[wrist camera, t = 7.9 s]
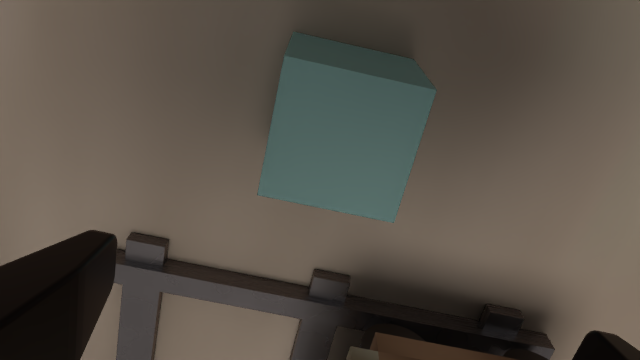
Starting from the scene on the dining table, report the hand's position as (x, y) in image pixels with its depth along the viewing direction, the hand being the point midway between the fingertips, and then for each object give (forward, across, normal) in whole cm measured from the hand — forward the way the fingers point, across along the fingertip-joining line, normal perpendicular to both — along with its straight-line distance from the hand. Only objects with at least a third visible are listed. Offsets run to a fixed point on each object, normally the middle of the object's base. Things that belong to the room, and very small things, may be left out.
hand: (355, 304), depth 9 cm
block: (+12, 0, 0) cm, 12 cm away
